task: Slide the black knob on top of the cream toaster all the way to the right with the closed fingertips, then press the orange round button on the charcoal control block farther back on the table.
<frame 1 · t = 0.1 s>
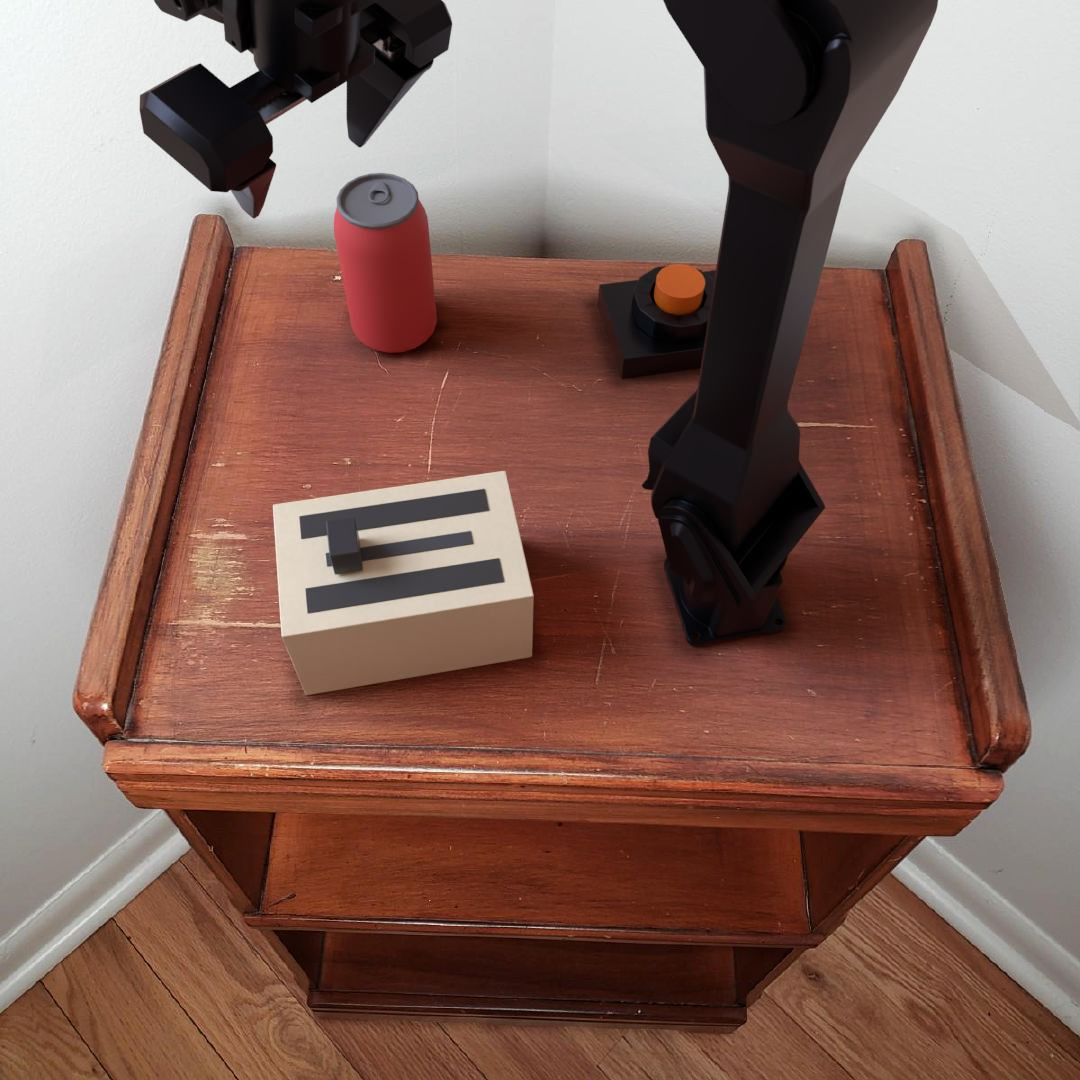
hand: (304, 176, 64), 15 cm above the table, tool pointing down, fingers open, 9 cm apart
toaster: (411, 613, 65), on the table
control block: (671, 333, 79), on the table
button: (679, 289, 75), point 4 cm above the table, slide at 0.1 cm
slider: (344, 545, 57), point 9 cm above the table, slide at 0.0 cm
beer can: (395, 328, 79), on the table
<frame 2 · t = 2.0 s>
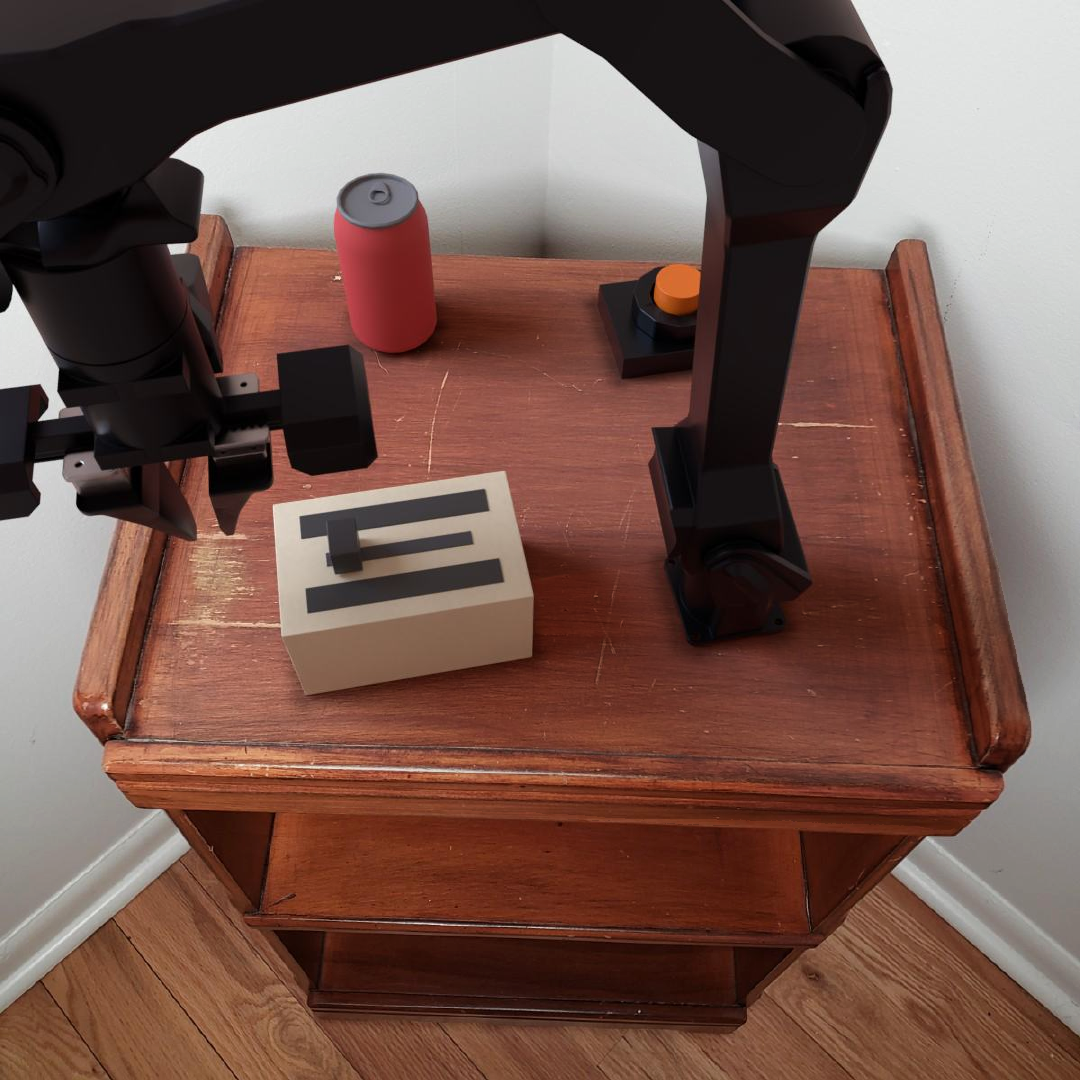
hand: (211, 531, 54), 12 cm above the table, tool pointing down, fingers closed
nothing on the table moved.
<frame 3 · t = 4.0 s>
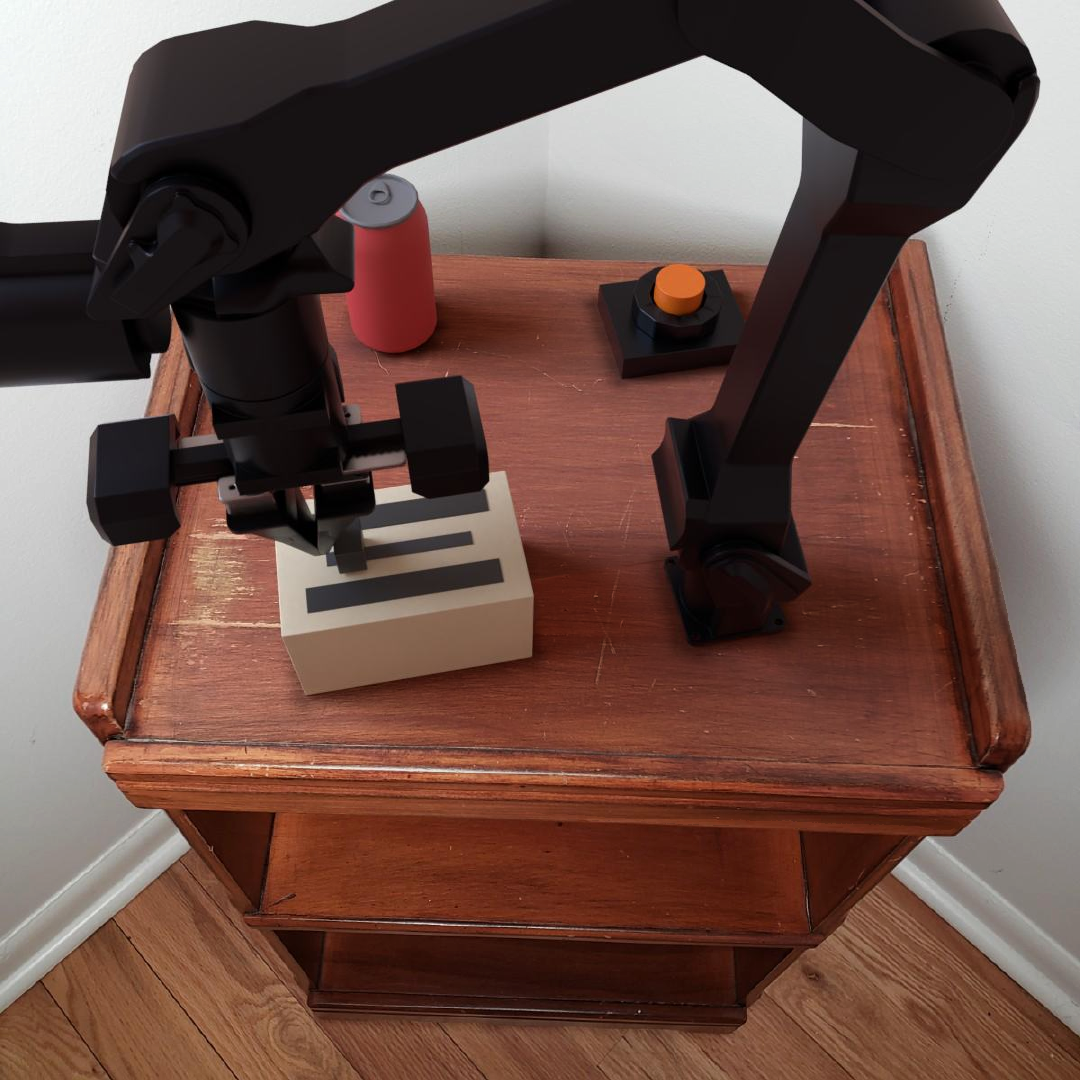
hand: (320, 548, 57), 9 cm above the table, tool pointing down, fingers closed
slider: (349, 545, 57), point 9 cm above the table, slide at 0.3 cm, touching gripper
everything else where it was.
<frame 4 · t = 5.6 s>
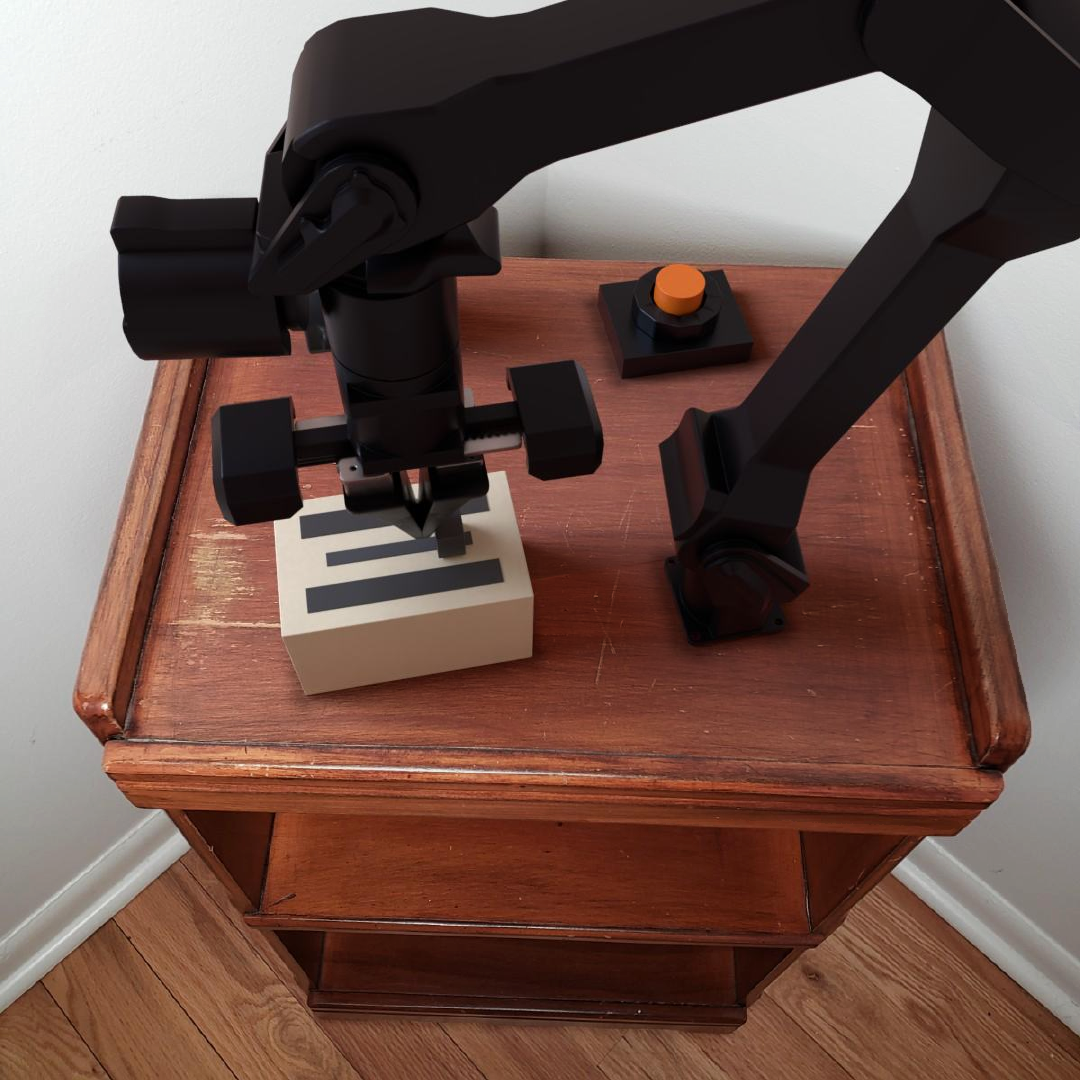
hand: (421, 531, 57), 9 cm above the table, tool pointing down, fingers closed
slider: (448, 530, 58), point 9 cm above the table, slide at 5.9 cm, touching gripper
everything else where it was.
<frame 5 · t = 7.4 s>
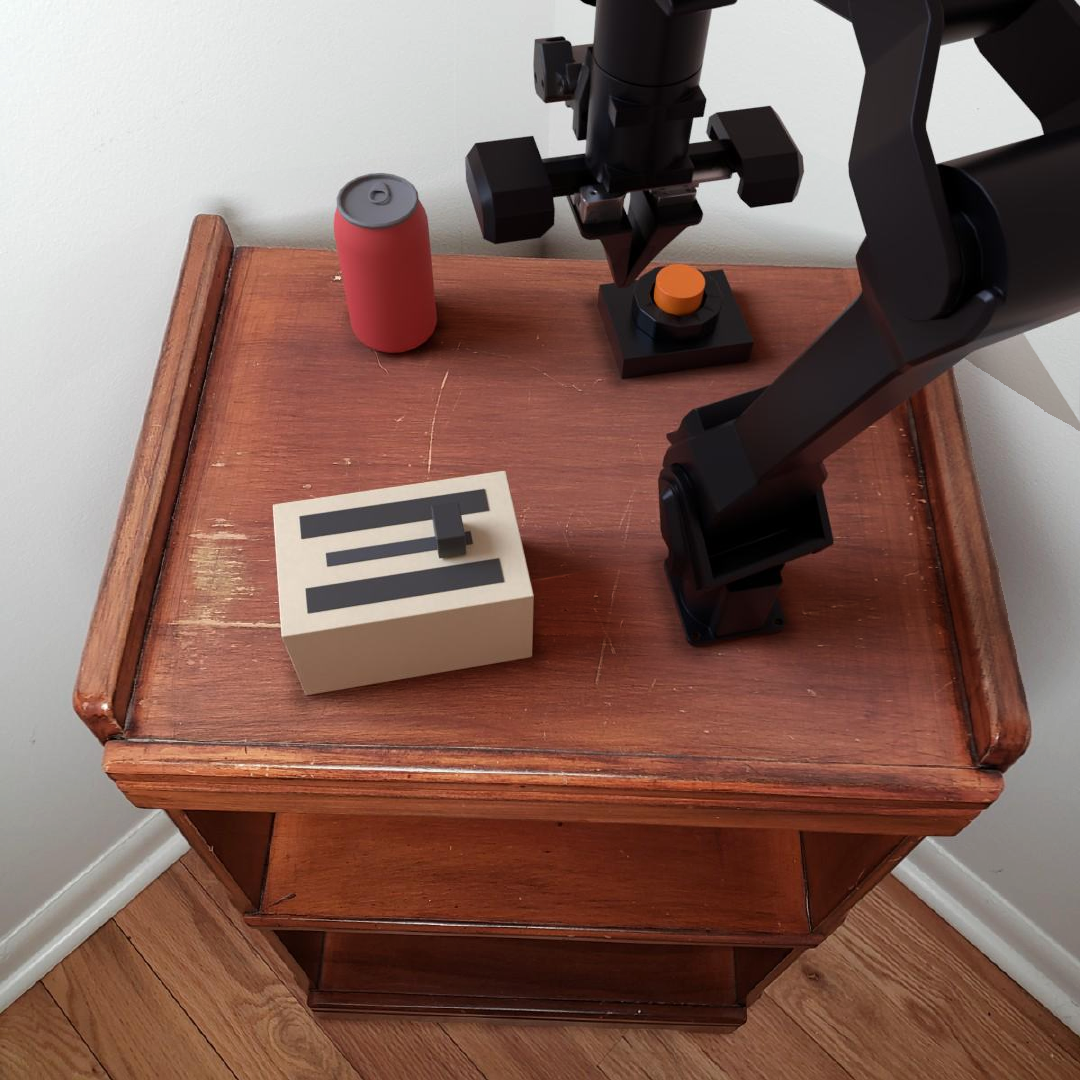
hand: (620, 283, 65), 11 cm above the table, tool pointing down, fingers closed
slider: (448, 530, 58), point 9 cm above the table, slide at 5.9 cm
everything else where it was.
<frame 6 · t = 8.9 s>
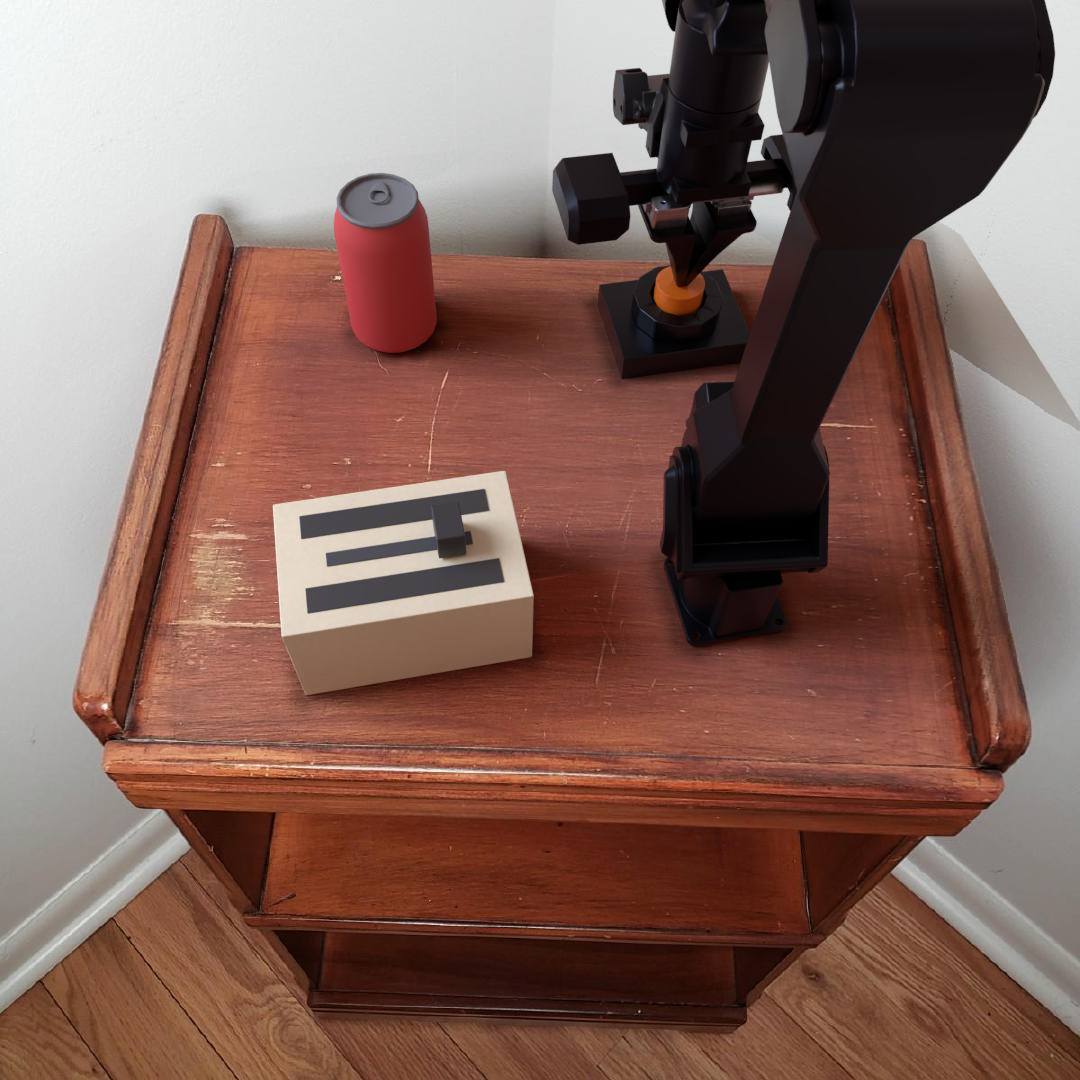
hand: (680, 282, 74), 5 cm above the table, tool pointing down, fingers closed, pressing on button
button: (679, 290, 75), point 4 cm above the table, slide at 0.0 cm, touching gripper
everything else where it was.
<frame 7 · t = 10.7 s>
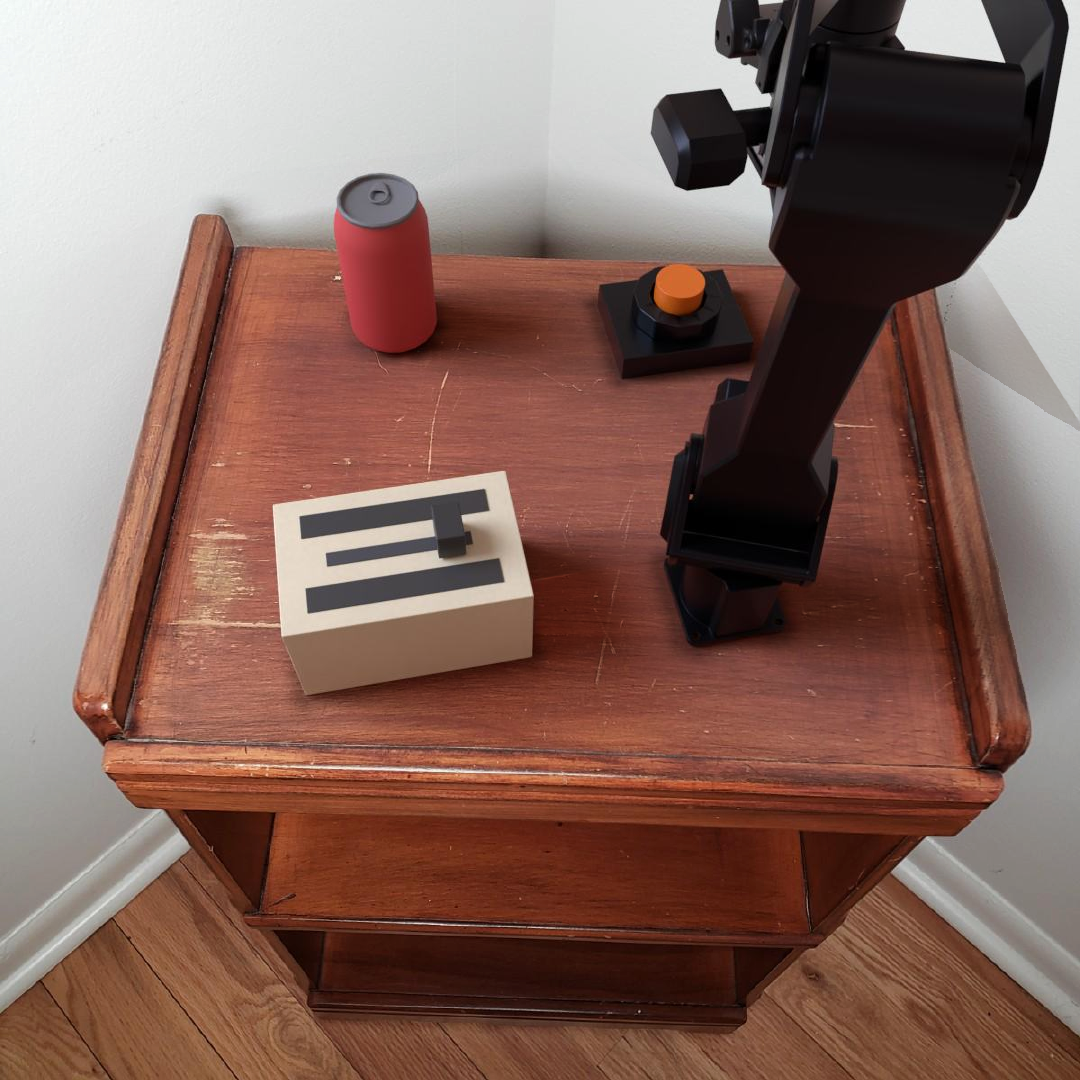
hand: (783, 238, 67), 12 cm above the table, tool pointing down, fingers closed
button: (679, 289, 75), point 4 cm above the table, slide at 0.1 cm
everything else where it was.
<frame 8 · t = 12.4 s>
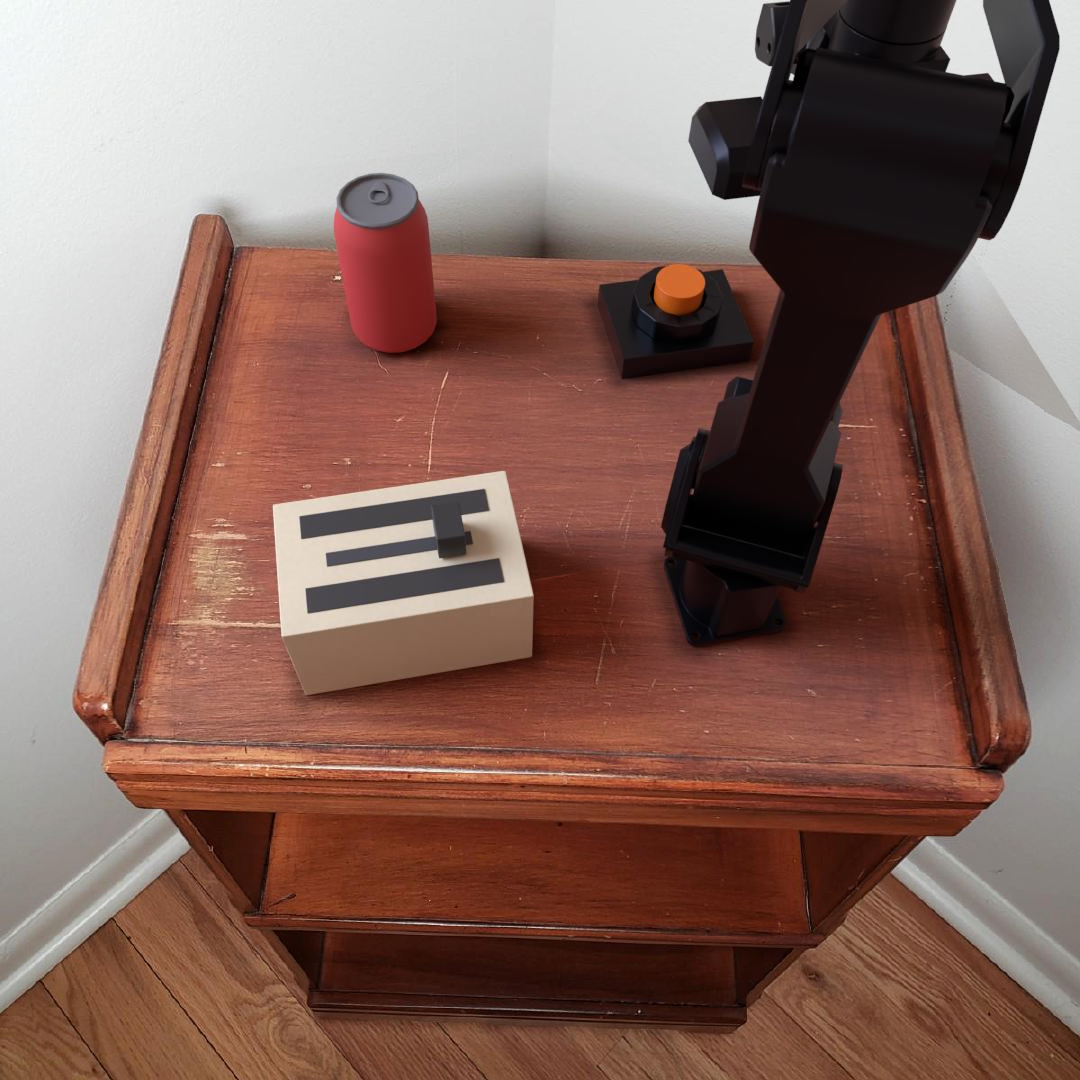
hand: (819, 247, 67), 12 cm above the table, tool pointing down, fingers closed
nothing on the table moved.
at the end: slider slide at 5.9 cm; button pushed in 1.1 cm at the most during the clip, back to where it started at the end; button slide at 0.1 cm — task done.
